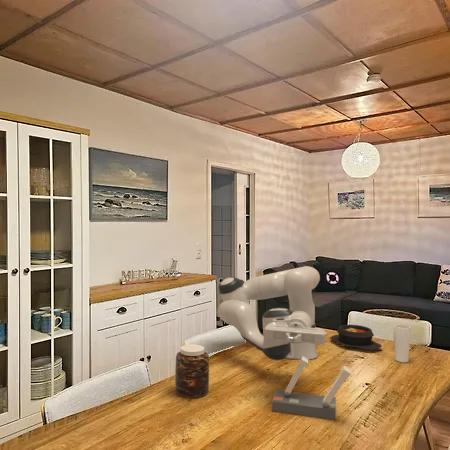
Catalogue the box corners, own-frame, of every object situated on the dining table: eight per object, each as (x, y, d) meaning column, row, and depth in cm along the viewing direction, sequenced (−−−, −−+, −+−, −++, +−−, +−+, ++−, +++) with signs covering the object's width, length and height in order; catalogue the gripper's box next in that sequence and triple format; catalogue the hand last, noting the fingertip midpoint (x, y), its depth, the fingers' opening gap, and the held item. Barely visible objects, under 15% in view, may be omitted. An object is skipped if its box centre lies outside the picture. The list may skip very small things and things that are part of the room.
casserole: (389, 348, 191) (389, 331, 191) (367, 356, 179) (367, 337, 179) (344, 336, 210) (344, 320, 210) (321, 342, 199) (322, 325, 199)
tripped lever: (284, 389, 132) (302, 355, 130) (290, 393, 131) (308, 359, 130) (282, 394, 128) (301, 359, 127) (288, 398, 128) (307, 363, 126)
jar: (213, 387, 142) (214, 345, 142) (201, 401, 131) (201, 355, 131) (183, 382, 146) (184, 341, 146) (168, 395, 135) (169, 350, 135)
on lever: (321, 399, 125) (343, 365, 123) (327, 403, 124) (350, 369, 122) (320, 404, 121) (344, 369, 119) (327, 409, 121) (350, 373, 119)
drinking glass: (412, 364, 169) (412, 328, 169) (394, 362, 171) (395, 327, 171) (408, 359, 176) (408, 324, 176) (391, 357, 177) (392, 323, 177)
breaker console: (276, 399, 134) (276, 389, 134) (335, 406, 129) (335, 397, 129) (272, 411, 125) (272, 401, 125) (335, 420, 120) (335, 409, 120)
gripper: (327, 341, 138) (325, 353, 125) (268, 336, 144) (260, 347, 131) (327, 323, 138) (325, 333, 125) (268, 318, 144) (261, 327, 131)
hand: (292, 340), depth 128 cm, fingers closed
